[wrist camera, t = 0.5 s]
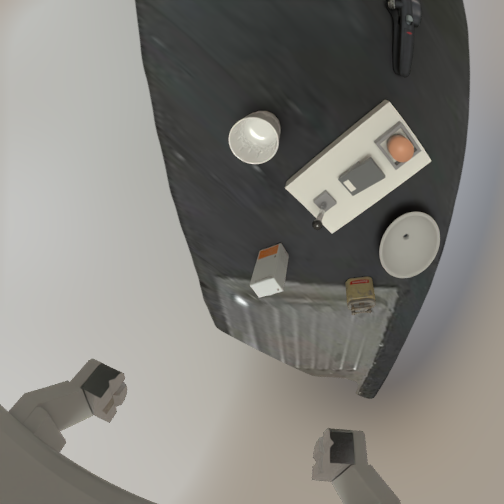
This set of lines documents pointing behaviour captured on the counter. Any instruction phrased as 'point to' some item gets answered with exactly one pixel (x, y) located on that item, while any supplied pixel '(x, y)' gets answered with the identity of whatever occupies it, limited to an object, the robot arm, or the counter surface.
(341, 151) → the switch panel
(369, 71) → the counter surface
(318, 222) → the toggle lever
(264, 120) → the white cup
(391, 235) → the dish
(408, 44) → the can opener
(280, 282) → the skincare box
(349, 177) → the block
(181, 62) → the counter surface
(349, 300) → the lighter
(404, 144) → the push button
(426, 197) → the counter surface
